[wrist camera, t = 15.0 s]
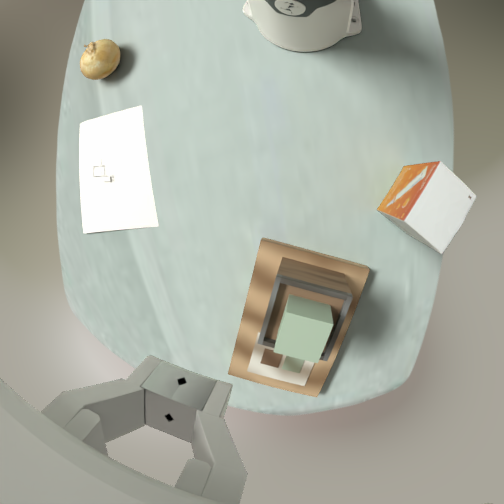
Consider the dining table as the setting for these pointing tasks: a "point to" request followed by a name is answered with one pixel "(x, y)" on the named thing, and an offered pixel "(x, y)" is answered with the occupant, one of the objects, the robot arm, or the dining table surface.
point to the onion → (100, 59)
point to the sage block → (304, 329)
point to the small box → (428, 203)
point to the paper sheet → (115, 173)
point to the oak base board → (262, 303)
